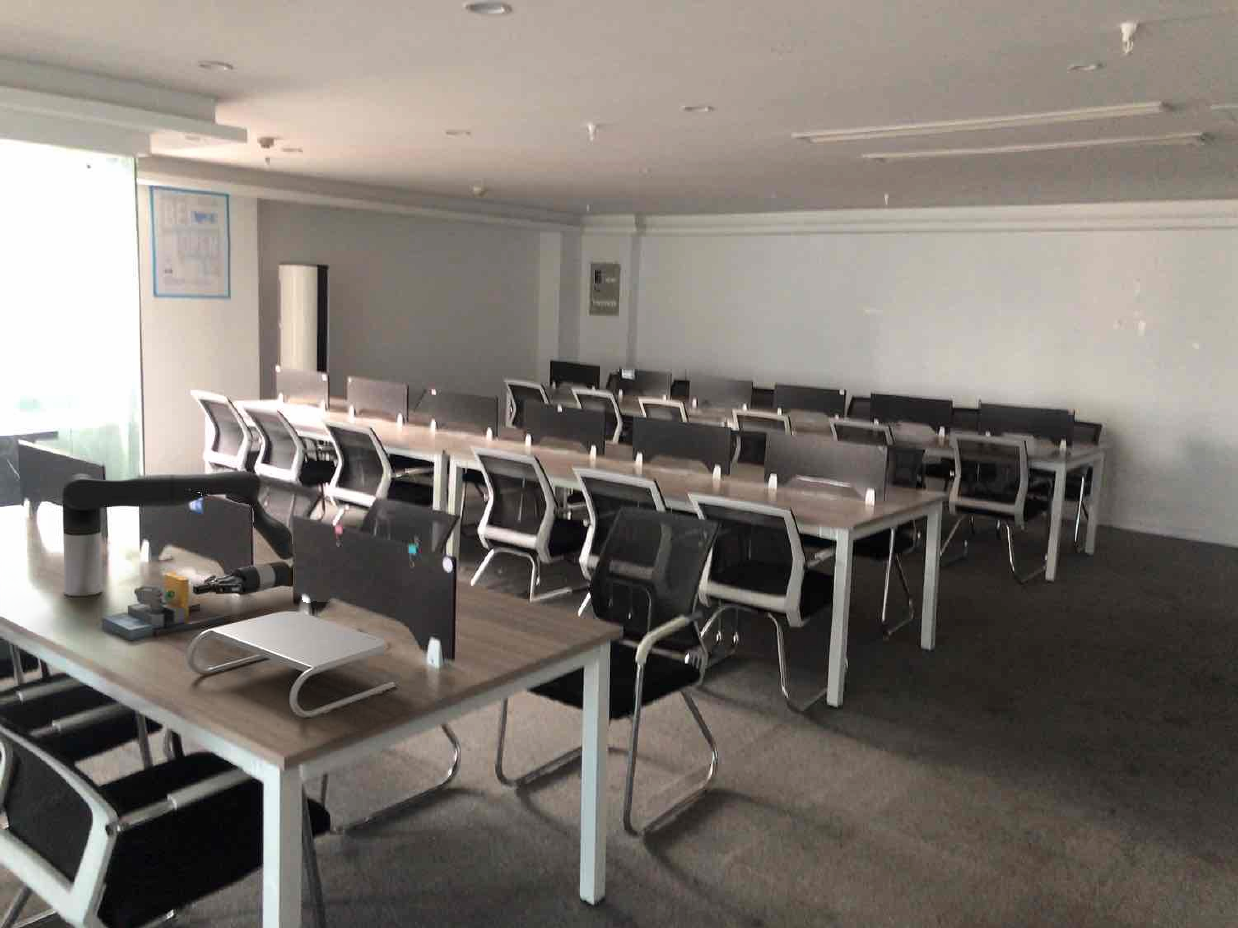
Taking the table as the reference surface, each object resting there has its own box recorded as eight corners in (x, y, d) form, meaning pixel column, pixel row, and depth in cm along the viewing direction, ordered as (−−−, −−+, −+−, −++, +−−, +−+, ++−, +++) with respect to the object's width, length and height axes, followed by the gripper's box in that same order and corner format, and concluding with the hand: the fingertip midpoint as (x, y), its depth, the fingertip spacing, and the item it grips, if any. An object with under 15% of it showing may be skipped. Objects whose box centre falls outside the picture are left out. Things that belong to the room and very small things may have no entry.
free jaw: (149, 619, 258) (149, 574, 256) (168, 615, 262) (168, 571, 260) (174, 629, 251) (173, 583, 249) (192, 625, 255) (192, 580, 253)
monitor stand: (396, 688, 222) (398, 642, 221) (292, 726, 199) (292, 674, 198) (291, 650, 243) (291, 607, 241) (185, 680, 220) (185, 633, 218)
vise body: (100, 627, 250) (100, 608, 249) (197, 607, 270) (197, 590, 270) (131, 642, 240) (131, 622, 240) (229, 620, 261) (229, 602, 260)
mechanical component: (172, 629, 251) (168, 592, 249) (137, 626, 253) (132, 589, 251) (180, 624, 254) (175, 588, 252) (144, 621, 256) (139, 585, 254)
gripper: (267, 597, 270) (208, 609, 256) (239, 587, 278) (180, 598, 264) (267, 570, 269) (208, 581, 255) (239, 561, 277) (180, 571, 263)
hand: (194, 590), depth 260 cm, fingers closed
